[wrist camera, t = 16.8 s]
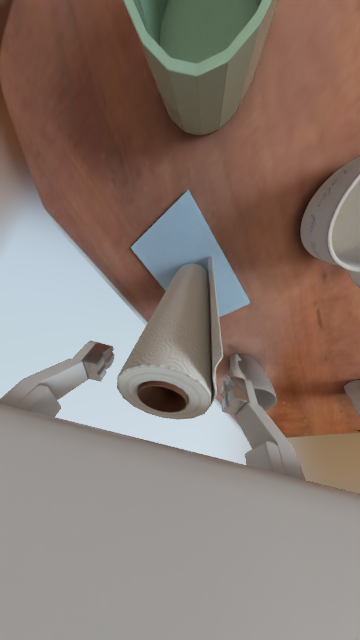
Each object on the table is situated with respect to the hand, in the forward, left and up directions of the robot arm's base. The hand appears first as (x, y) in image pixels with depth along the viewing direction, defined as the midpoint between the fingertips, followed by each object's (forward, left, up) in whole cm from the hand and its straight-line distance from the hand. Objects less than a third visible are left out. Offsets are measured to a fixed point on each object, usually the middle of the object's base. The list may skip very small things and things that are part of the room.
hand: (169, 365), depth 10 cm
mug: (+16, -17, -20) cm, 31 cm away
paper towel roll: (+1, 0, -20) cm, 20 cm away
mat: (0, 0, -20) cm, 20 cm away
